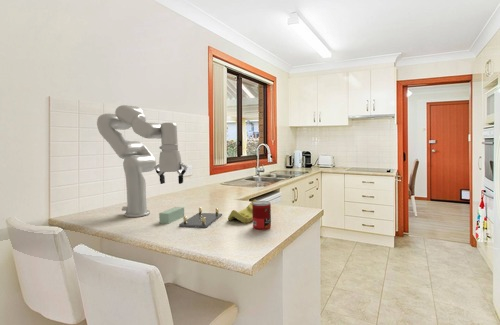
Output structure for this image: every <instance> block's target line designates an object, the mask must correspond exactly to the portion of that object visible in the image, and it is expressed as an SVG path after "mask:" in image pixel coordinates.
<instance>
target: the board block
mask: <svg viewBox="0 0 500 325" xmlns="http://www.w3.org/2000/svg"><path fill="white" fill-rule="evenodd" d="M158 215H159V218H158V219H159V224H166V225H169V224H171V223H173V222H176V221H178V220H180V219H182V218H183V217H184V216H185V207H184V206H183V207H182V206H174V207H172V208H169V209H166V210H164V211H161V212H159V214H158Z"/></svg>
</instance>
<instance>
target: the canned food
mask: <svg viewBox="0 0 500 325" xmlns="http://www.w3.org/2000/svg"><path fill="white" fill-rule="evenodd" d="M271 208H272V206H271V202H270V201H269V200H267V201H266V200H257V201H255V202H253V203H252V212H253V220H252V227H253V229H254V230H257V231H258V230H259V231H264V230H265V231H266V230H269V229H271V226H272V218H271V217H272V209H271Z"/></svg>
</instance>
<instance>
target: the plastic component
mask: <svg viewBox="0 0 500 325" xmlns="http://www.w3.org/2000/svg"><path fill="white" fill-rule="evenodd" d="M255 201H258V200H257V199H254V200H252V201H251V202H250V203H249V204H248V205H247V207H246V208H243V209H241V210H240V211H237V210H235V209H233V210H231V212H230V214H228V217H227V220H228V221H233V220H235V219H237V220H238V221H240V222H241V223H243V224H248V223H252V222H253V212H252V203H253V202H255Z"/></svg>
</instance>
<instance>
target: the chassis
mask: <svg viewBox="0 0 500 325" xmlns="http://www.w3.org/2000/svg"><path fill="white" fill-rule="evenodd" d="M222 216H223V213H219V208H218V207H217V208H215V212H214V213H213V212H211V213H210V212H203V209H202V207H199V208H198V213H195V214H194V215H192V216H191V217H189V218H187V216H186V215H184V217H182V218H183V222H181V223H179V224H178V226H179V227H180V228H181V227H182V228H200V229H201V228H203V229H205V228H209V226H211V225H212V224H213V223H215V222H216V221H217V220H218V219H219V218H221V217H222Z"/></svg>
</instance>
